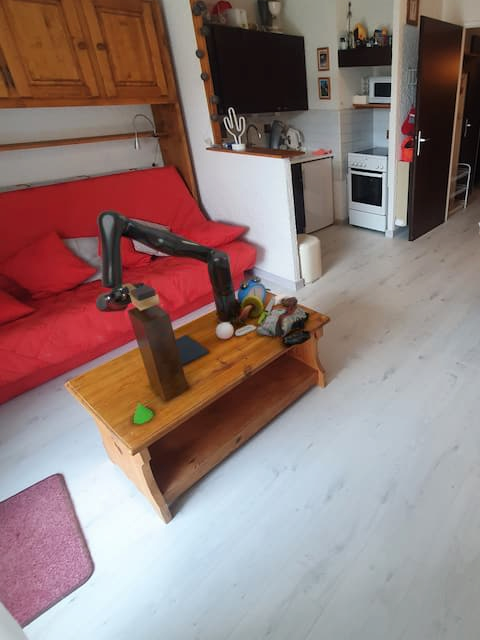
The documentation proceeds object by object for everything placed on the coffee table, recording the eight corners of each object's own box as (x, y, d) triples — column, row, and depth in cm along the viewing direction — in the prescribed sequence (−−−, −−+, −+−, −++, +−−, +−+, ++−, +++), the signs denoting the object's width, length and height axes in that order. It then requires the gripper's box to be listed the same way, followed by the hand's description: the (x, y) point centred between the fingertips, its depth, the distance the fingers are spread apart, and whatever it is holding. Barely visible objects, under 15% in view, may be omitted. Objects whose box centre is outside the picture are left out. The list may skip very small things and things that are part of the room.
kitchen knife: (278, 298, 193) (272, 296, 193) (278, 296, 193) (273, 294, 192) (262, 326, 175) (256, 324, 174) (263, 324, 174) (256, 322, 174)
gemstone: (147, 407, 129) (142, 394, 126) (157, 415, 126) (152, 401, 123) (129, 418, 125) (124, 405, 122) (139, 426, 122) (134, 413, 119)
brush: (136, 286, 132) (132, 273, 130) (160, 303, 122) (156, 289, 120) (117, 292, 128) (113, 279, 126) (140, 310, 118) (136, 296, 115)
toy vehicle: (273, 301, 189) (268, 299, 191) (273, 306, 190) (268, 303, 192) (292, 293, 197) (287, 290, 199) (292, 297, 198) (287, 295, 200)
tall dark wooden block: (172, 375, 144) (152, 301, 130) (188, 389, 137) (169, 313, 123) (150, 386, 138) (127, 310, 124) (166, 402, 131) (143, 323, 117)
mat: (186, 336, 166) (186, 334, 166) (208, 353, 156) (208, 351, 155) (159, 349, 158) (158, 347, 158) (180, 367, 148) (179, 365, 147)
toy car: (282, 344, 158) (285, 351, 160) (309, 335, 159) (312, 341, 161) (282, 336, 163) (285, 343, 165) (308, 327, 164) (311, 334, 166)
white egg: (217, 320, 160) (219, 319, 167) (212, 337, 159) (214, 336, 166) (241, 326, 162) (242, 325, 170) (236, 343, 162) (237, 341, 169)
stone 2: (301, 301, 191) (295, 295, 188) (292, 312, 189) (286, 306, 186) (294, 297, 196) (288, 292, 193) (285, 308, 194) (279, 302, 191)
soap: (237, 338, 166) (237, 336, 166) (232, 332, 169) (232, 331, 168) (257, 329, 172) (257, 327, 172) (252, 324, 175) (252, 322, 174)
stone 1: (291, 311, 184) (271, 309, 185) (291, 305, 182) (271, 303, 184) (275, 340, 165) (254, 337, 167) (274, 334, 164) (252, 331, 165)
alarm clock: (246, 313, 184) (242, 285, 177) (238, 309, 187) (234, 282, 180) (267, 302, 193) (264, 276, 186) (259, 299, 196) (256, 272, 190)
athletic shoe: (283, 314, 154) (302, 337, 156) (301, 294, 177) (317, 314, 179) (261, 330, 157) (279, 352, 159) (282, 308, 181) (297, 327, 183)
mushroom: (226, 299, 168) (241, 293, 182) (227, 327, 170) (241, 318, 184) (253, 301, 166) (265, 294, 181) (253, 328, 168) (266, 320, 183)
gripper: (95, 293, 133) (103, 284, 121) (136, 280, 143) (148, 270, 130) (104, 313, 134) (114, 306, 121) (145, 298, 143) (158, 290, 131)
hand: (132, 287), depth 126 cm, fingers closed on brush, 2 cm apart
